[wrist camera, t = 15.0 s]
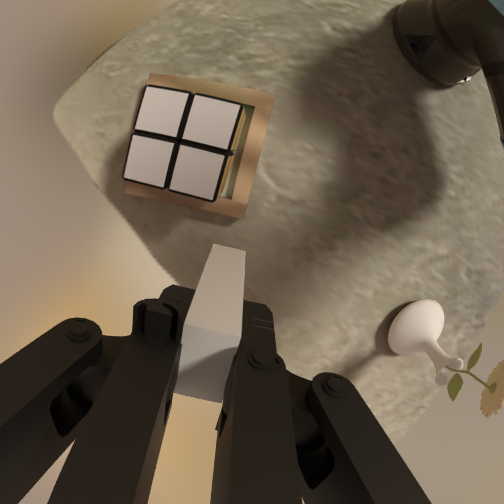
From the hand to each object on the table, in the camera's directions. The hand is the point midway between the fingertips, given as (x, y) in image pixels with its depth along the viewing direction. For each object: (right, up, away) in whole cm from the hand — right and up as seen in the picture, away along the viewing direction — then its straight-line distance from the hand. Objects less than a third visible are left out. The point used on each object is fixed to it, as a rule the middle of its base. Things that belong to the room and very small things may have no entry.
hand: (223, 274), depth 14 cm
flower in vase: (+30, -11, +32) cm, 45 cm away
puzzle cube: (-6, +15, +22) cm, 27 cm away
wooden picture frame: (-6, +15, +23) cm, 28 cm away
